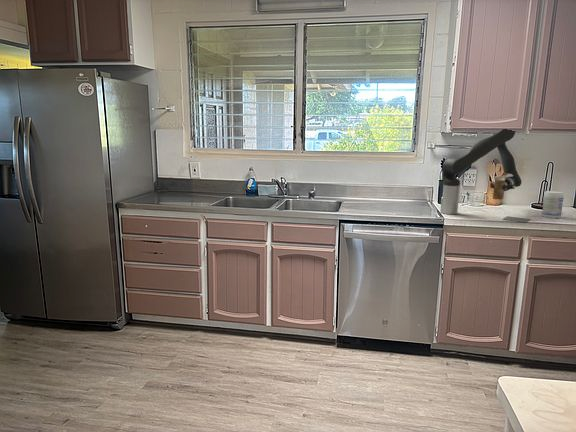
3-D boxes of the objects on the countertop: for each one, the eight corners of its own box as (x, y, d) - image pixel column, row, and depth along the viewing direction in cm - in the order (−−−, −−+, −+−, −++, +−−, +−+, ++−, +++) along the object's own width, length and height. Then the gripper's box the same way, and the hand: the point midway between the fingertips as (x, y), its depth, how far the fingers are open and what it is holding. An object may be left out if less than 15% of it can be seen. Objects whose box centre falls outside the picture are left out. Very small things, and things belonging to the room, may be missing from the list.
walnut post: (492, 198, 243) (495, 176, 240) (495, 197, 246) (497, 175, 243) (501, 199, 240) (503, 177, 237) (503, 198, 243) (505, 176, 240)
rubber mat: (502, 219, 236) (502, 219, 236) (507, 216, 244) (507, 216, 244) (526, 222, 228) (526, 221, 228) (530, 219, 237) (530, 218, 236)
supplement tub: (561, 219, 237) (564, 193, 234) (542, 217, 242) (545, 192, 239) (560, 216, 246) (563, 191, 243) (541, 214, 250) (544, 190, 247)
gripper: (493, 177, 256) (485, 179, 243) (519, 179, 247) (512, 181, 234) (492, 189, 257) (484, 192, 245) (517, 191, 248) (511, 194, 236)
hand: (498, 187), depth 239 cm, fingers closed on walnut post, 4 cm apart
